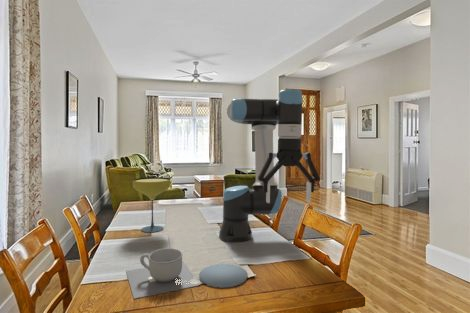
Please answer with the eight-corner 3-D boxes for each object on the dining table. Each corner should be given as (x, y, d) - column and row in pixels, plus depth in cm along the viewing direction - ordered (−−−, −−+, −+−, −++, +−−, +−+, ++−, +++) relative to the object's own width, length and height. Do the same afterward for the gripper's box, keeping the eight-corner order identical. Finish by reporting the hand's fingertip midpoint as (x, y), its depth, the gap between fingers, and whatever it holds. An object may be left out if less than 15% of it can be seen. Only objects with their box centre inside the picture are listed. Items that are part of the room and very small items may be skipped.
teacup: (188, 273, 105) (188, 250, 104) (171, 288, 94) (171, 262, 94) (152, 267, 109) (152, 245, 109) (133, 281, 99) (132, 256, 98)
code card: (126, 271, 107) (126, 270, 107) (182, 261, 115) (182, 261, 115) (133, 299, 89) (133, 298, 89) (200, 285, 97) (200, 284, 97)
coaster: (192, 270, 107) (192, 268, 107) (234, 263, 114) (234, 261, 114) (209, 292, 93) (209, 289, 93) (255, 281, 100) (255, 279, 100)
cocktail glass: (166, 235, 146) (165, 182, 144) (127, 234, 146) (127, 182, 144) (174, 224, 164) (174, 177, 162) (140, 224, 164) (139, 176, 162)
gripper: (253, 137, 97) (252, 204, 98) (331, 138, 99) (329, 204, 100) (250, 137, 104) (249, 199, 106) (322, 137, 106) (321, 199, 108)
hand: (288, 202), depth 103 cm, fingers open, 13 cm apart
